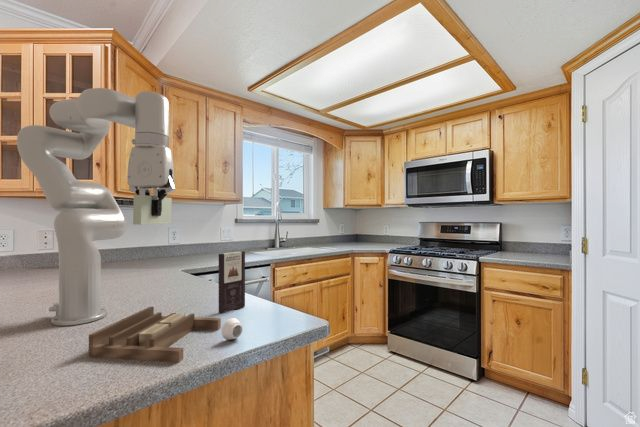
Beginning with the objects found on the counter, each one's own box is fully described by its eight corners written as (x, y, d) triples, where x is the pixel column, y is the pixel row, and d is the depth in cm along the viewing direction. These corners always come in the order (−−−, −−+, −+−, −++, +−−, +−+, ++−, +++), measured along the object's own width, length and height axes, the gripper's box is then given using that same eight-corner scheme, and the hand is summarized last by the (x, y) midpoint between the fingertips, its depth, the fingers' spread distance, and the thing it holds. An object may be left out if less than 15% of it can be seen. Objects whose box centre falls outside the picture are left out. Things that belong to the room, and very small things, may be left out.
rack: (88, 358, 64) (88, 334, 64) (150, 324, 83) (150, 306, 83) (179, 363, 62) (179, 338, 62) (220, 327, 81) (220, 309, 81)
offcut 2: (159, 340, 73) (159, 322, 73) (174, 331, 79) (174, 313, 79) (171, 341, 73) (171, 322, 73) (185, 331, 79) (185, 314, 79)
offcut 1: (139, 354, 66) (139, 333, 66) (156, 342, 72) (156, 323, 72) (152, 354, 66) (152, 334, 66) (168, 343, 72) (168, 324, 72)
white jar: (238, 335, 76) (238, 315, 76) (245, 338, 74) (245, 317, 74) (220, 342, 72) (220, 320, 72) (228, 345, 70) (228, 323, 70)
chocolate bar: (220, 313, 93) (220, 254, 93) (218, 312, 93) (218, 254, 93) (244, 306, 100) (244, 251, 100) (243, 306, 100) (243, 251, 100)
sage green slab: (164, 223, 84) (133, 224, 72) (164, 197, 84) (133, 194, 72) (171, 223, 84) (140, 224, 72) (171, 197, 84) (141, 195, 72)
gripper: (112, 140, 75) (111, 215, 75) (172, 139, 73) (172, 216, 73) (134, 147, 82) (133, 215, 82) (189, 146, 80) (188, 215, 80)
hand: (151, 215), depth 78 cm, fingers closed
